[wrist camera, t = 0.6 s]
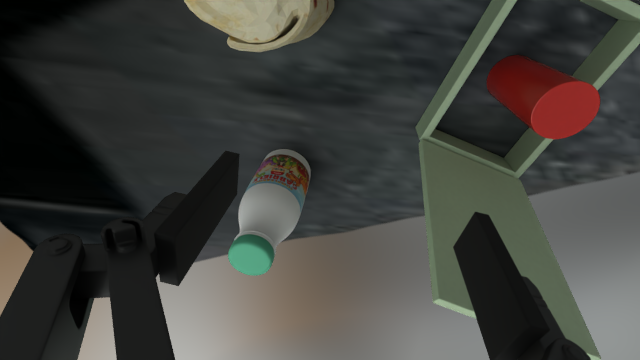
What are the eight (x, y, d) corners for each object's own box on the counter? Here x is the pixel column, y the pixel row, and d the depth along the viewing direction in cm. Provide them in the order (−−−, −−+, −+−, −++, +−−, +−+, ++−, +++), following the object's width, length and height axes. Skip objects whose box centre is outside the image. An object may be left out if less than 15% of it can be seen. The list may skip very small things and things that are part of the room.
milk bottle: (314, 188, 50) (292, 287, 32) (269, 190, 51) (224, 287, 34) (307, 144, 46) (278, 230, 29) (258, 148, 47) (201, 233, 30)
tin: (505, 47, 35) (562, 71, 25) (544, 65, 35) (616, 95, 25) (477, 89, 38) (517, 126, 28) (514, 105, 38) (567, 147, 28)
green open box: (513, -42, 32) (535, -47, 27) (626, 13, 33) (663, 17, 29) (414, 125, 42) (419, 139, 38) (502, 162, 43) (516, 180, 39)
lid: (438, 298, 22) (432, 303, 22) (602, 359, 23) (592, 362, 24) (421, 138, 37) (418, 143, 38) (520, 180, 38) (515, 184, 39)
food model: (341, -25, 34) (324, -51, 17) (331, 39, 38) (310, 72, 21) (255, -39, 35) (154, -79, 17) (253, 26, 38) (168, 47, 21)
